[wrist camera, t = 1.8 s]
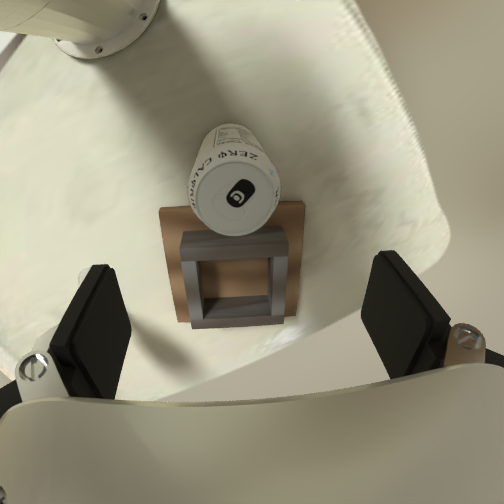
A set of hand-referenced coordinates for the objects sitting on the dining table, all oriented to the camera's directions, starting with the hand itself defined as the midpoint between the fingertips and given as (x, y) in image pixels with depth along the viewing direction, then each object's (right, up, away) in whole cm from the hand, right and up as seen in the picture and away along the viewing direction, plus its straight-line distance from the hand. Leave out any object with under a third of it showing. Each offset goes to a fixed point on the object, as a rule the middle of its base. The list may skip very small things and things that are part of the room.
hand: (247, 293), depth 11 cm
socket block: (-2, 0, +27) cm, 28 cm away
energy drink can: (-2, +12, +21) cm, 24 cm away
